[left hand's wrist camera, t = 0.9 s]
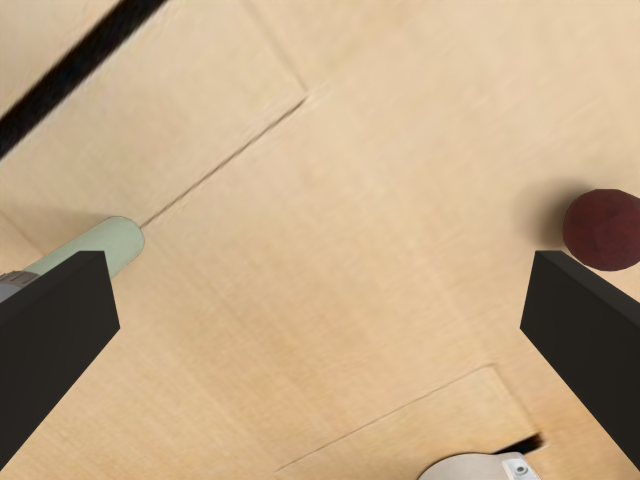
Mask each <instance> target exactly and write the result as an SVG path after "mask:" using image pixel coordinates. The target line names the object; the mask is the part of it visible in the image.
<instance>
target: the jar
mask: <svg viewBox="0 0 640 480" xmlns="http://www.w3.org/2000/svg"><path fill="white" fill-rule="evenodd" d="M143 246H144V237H143V234H142V231H141V230H140V228H139V227H138V226H137V225H136V224H135V223H134V222H133V221H131V220H129V219H127V218H124V217H110V218H108V219H106V220H104V221H103V222H101V223H99V224H98V225H96V226H94V227H93V228H91V229H89V230H88V231H86V232H84V233H83V234H81V235H79V236H78V237H76V238H74V239H73V240H71V241H70V242H68V243H66V244H65V245H63V246H61V247H60V248H58V249H56V250H55V251H53V252H51V253H50V254H48V255H46V256H45V257H43V258H41V259H40V260H38V261H36V262H35V263H33V264H31V265H30V266H28V267H26V268H25V269H23V270H21V271H28V272H33V273H37V274H39V275H41V276H42V275H43V274H45V273H46V272H48V271H49V270H51V269H52V268H54V267H55V266H57V265H58V264H60V263H61V262H63V261H64V260H66V259H67V258H69V257H70V256H72V255H73V254H75V253H76V252H78V251H105V256H106V261H107V266H108V271H109V276H110V280H111V279H112V278H113V277H114V276H115V275H116V274H117V273H118V272H119V271H121V270H122V269H123V268H124V267H125V266H126V265H127V264H128V263H129V262H131V261H132V260H133V259H134V258H135V257H136V256H137V255H138V254H139V253H140V252H141V251H142V249H143Z"/></svg>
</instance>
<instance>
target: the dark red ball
mask: <svg viewBox="0 0 640 480" xmlns="http://www.w3.org/2000/svg"><path fill="white" fill-rule="evenodd" d="M563 240H564V242H565V244H566V246H567V248H568V249H569V251H570V252H571V254H572V255H573V256H574V257H575V258H577V259H578V260H579V261H580V262H581V263H583V264H584V265H586V266H589V267H592V268H594V269H597V270H600V271H618V270H622V269H626V268H628V267H631V266H633V265H635V264H636V263H638V262H639V261H640V199H639V198H637V197H635V196H633V195H631V194H628V193H626V192H623V191H620V190H617V189H596V190H593V191H590V192H588V193H585V194H583V195H581V196H580V197H579V198H577V199H576V200H575V201H574V202H573V203H572V204H571V206H570V207H569V209H568V210H567V213H566V217H565V220H564V224H563Z"/></svg>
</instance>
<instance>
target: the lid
mask: <svg viewBox="0 0 640 480" xmlns="http://www.w3.org/2000/svg"><path fill="white" fill-rule="evenodd" d="M40 276H41V275H39V274H37V273H33V272H28V271H12V272H10V273H7V274H5V273H4V274H2V275H1V276H0V303H1V302H3V301H4V300H6V299H7V298H9V297H10V296H12V295H13V294H15V293H16V292H18V291H19V290H21V289H22V288H24V287H25V286H27V285H28V284H30V283H31V282H33V281H34V280H36V279H37V278H39V277H40Z"/></svg>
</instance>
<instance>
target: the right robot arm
mask: <svg viewBox="0 0 640 480" xmlns="http://www.w3.org/2000/svg"><path fill="white" fill-rule="evenodd" d="M419 480H541V479H540V477H539V476H538V475H537V473H536V472H535V471H534V469H533V468H532V467H531V465H530V464H529V463H528V461H527V460H526V459H525V458H524V456H523V455H522V454H521V453H518V452H510V453H504V454H499V455H487V454H462V455H457V456H453V457H450V458H447V459H444V460H442V461H440V462H438V463H436V464H435V465H433V466H432V467H430V468H429V469H428V470H426V471H425V472H424V473H423V474H422V476H421V477H420V478H419Z"/></svg>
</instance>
